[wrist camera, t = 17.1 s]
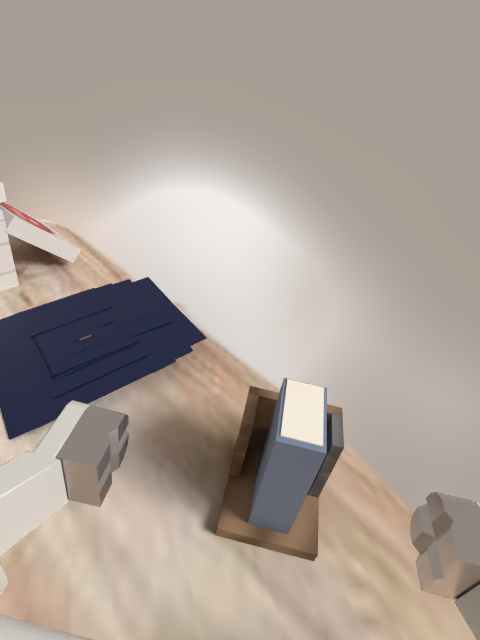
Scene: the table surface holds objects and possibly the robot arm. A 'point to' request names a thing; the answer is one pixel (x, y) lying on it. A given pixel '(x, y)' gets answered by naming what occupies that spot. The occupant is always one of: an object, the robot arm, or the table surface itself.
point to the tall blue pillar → (290, 455)
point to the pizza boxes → (27, 239)
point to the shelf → (244, 474)
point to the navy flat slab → (86, 349)
